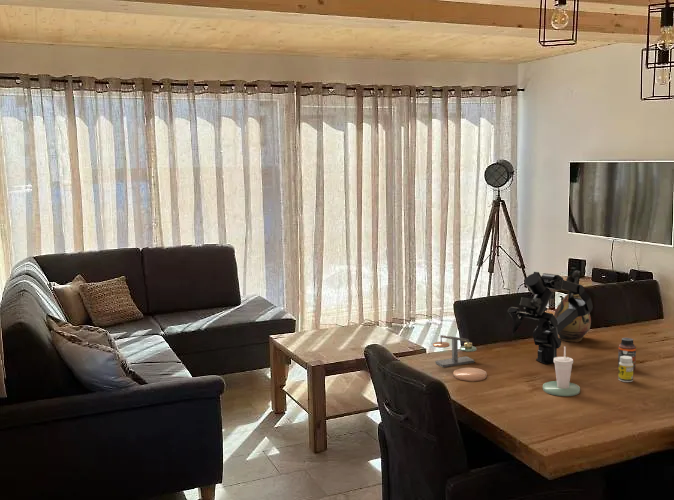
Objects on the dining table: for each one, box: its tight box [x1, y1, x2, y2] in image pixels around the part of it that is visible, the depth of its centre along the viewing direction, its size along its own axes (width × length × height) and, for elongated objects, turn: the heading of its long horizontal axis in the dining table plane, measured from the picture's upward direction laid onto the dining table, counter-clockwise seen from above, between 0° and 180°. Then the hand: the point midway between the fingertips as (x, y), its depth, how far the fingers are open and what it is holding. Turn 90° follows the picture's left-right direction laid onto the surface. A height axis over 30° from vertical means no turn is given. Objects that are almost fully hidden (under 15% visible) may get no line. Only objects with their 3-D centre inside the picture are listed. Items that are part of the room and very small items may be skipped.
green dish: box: [542, 380, 581, 397], centre depth 225 cm, size 12×12×1 cm
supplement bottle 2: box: [617, 356, 634, 383], centre depth 232 cm, size 5×5×8 cm
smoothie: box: [553, 346, 574, 389], centre depth 224 cm, size 6×6×14 cm
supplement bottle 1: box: [617, 337, 637, 371], centre depth 245 cm, size 6×6×11 cm
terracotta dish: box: [453, 367, 488, 382], centre depth 243 cm, size 12×12×1 cm
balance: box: [432, 334, 477, 368], centre depth 259 cm, size 18×6×12 cm, turn 110°
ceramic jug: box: [553, 270, 592, 343], centre depth 286 cm, size 17×15×30 cm
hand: (522, 335), depth 245 cm, fingers open, 9 cm apart
